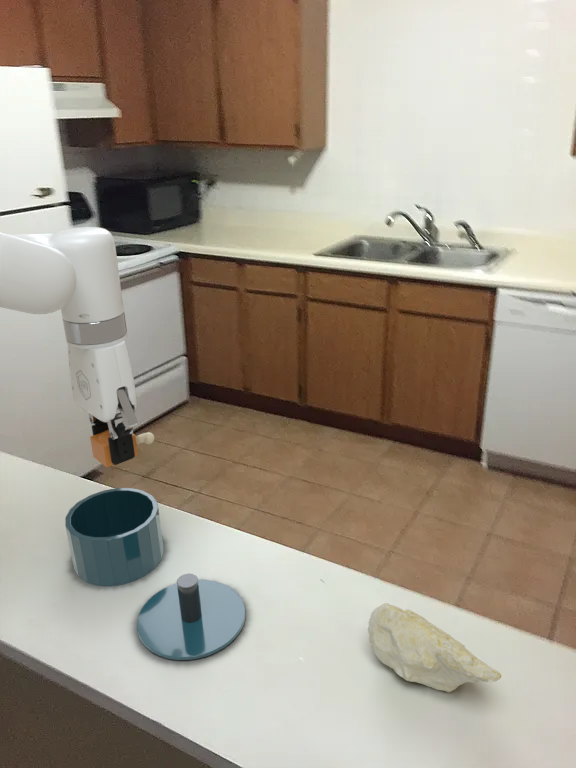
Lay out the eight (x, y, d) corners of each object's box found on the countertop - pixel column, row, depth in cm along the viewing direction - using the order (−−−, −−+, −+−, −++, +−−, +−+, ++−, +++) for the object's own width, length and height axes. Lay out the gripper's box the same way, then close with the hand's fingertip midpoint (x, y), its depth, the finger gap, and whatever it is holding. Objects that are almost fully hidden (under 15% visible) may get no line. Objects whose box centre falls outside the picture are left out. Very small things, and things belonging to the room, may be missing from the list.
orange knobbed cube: (147, 436, 97) (143, 412, 95) (161, 446, 94) (158, 421, 92) (93, 457, 92) (88, 431, 90) (106, 467, 89) (102, 441, 88)
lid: (218, 675, 83) (214, 631, 80) (116, 648, 87) (109, 606, 84) (261, 596, 95) (258, 556, 92) (170, 577, 100) (165, 538, 97)
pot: (134, 595, 96) (127, 547, 93) (56, 577, 101) (46, 530, 97) (179, 539, 108) (173, 495, 105) (106, 525, 112) (99, 482, 109)
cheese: (356, 644, 89) (349, 659, 75) (381, 593, 90) (378, 598, 76) (464, 706, 85) (477, 734, 71) (488, 652, 86) (506, 669, 72)
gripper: (40, 320, 88) (63, 442, 95) (98, 352, 76) (119, 488, 84) (93, 307, 92) (111, 425, 100) (155, 336, 81) (171, 467, 88)
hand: (115, 453), depth 92 cm, fingers closed on orange knobbed cube, 4 cm apart
